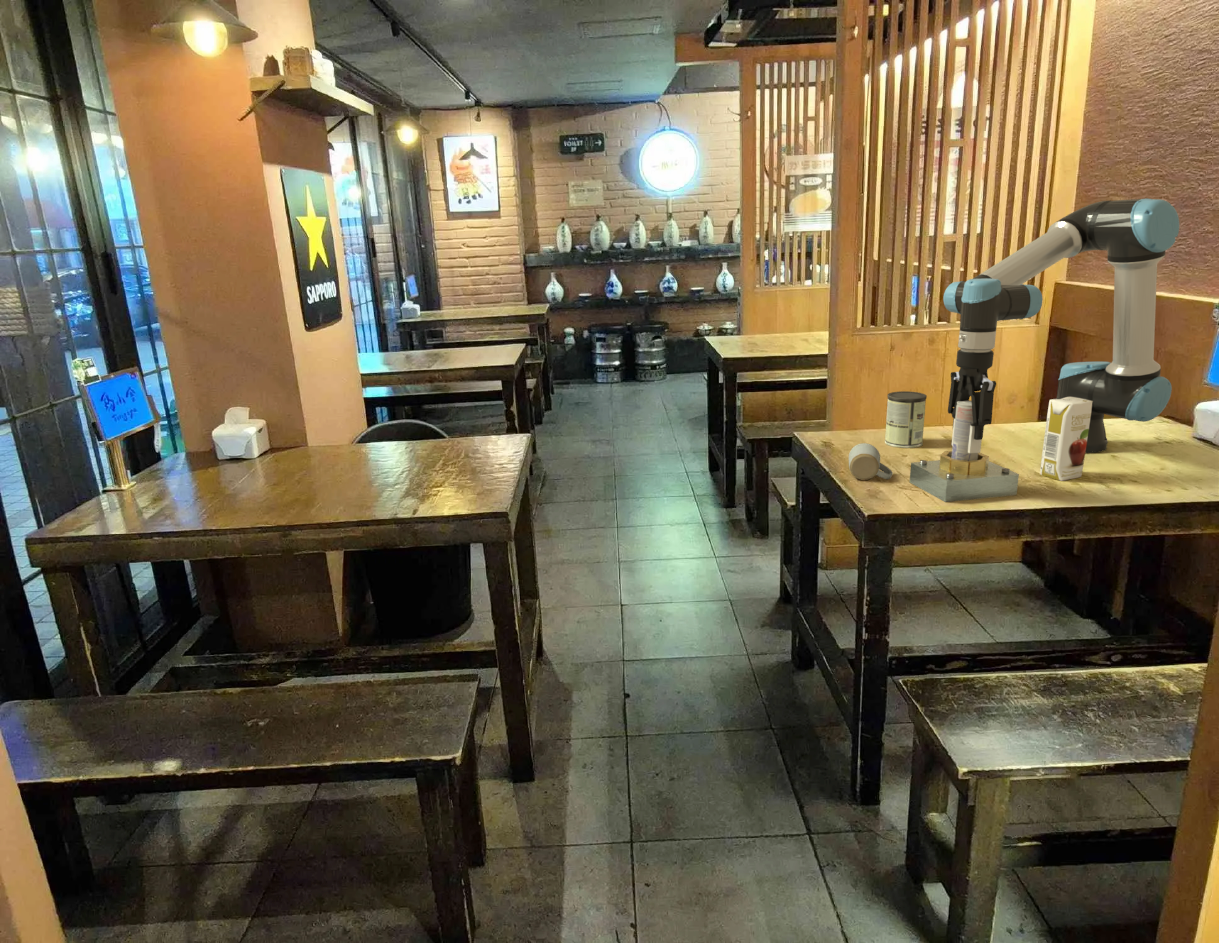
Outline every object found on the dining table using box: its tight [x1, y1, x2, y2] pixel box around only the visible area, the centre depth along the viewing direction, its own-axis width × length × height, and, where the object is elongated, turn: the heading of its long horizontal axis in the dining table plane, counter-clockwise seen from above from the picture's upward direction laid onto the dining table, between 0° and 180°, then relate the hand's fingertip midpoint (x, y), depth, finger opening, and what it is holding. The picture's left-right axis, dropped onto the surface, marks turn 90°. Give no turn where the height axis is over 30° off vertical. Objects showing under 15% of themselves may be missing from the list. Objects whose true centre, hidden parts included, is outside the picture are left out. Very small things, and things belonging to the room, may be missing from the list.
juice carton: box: [1039, 396, 1092, 481], centre depth 195 cm, size 8×9×19 cm
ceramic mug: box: [848, 442, 893, 481], centre depth 201 cm, size 11×8×8 cm
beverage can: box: [951, 399, 979, 461], centre depth 187 cm, size 6×6×15 cm
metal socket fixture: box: [909, 450, 1020, 503], centre depth 190 cm, size 18×15×8 cm
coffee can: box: [884, 390, 928, 449], centre depth 228 cm, size 10×10×14 cm
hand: (965, 448), depth 188 cm, fingers open, 6 cm apart
